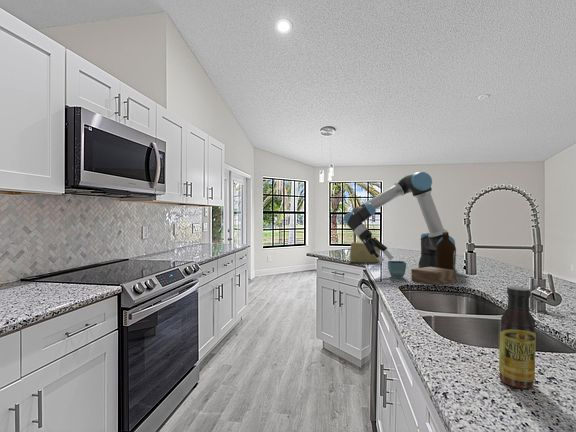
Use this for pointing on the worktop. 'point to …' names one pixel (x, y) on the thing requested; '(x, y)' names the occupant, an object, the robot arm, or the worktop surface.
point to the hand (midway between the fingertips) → (387, 260)
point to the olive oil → (446, 253)
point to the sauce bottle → (517, 340)
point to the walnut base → (434, 275)
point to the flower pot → (397, 268)
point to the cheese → (362, 253)
